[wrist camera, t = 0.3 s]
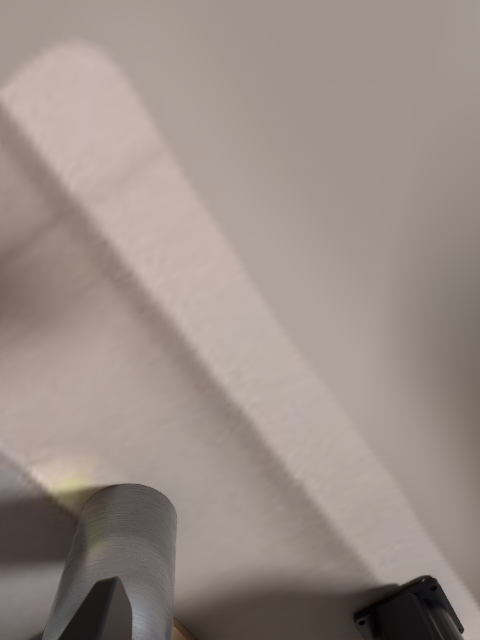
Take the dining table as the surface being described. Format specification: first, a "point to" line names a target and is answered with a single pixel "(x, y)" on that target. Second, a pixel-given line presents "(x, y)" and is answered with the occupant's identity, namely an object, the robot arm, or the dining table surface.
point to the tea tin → (122, 559)
